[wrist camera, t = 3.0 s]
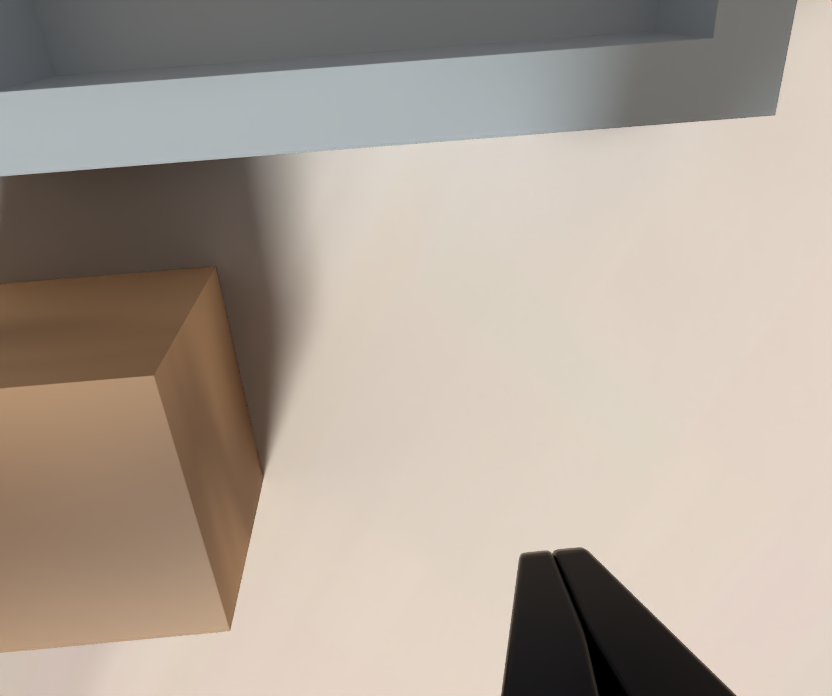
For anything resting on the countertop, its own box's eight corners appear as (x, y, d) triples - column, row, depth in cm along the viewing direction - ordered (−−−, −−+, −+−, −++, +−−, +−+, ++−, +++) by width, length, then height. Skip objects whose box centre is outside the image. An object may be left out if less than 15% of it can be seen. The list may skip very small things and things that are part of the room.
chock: (264, 475, 14) (230, 630, 11) (81, 491, 14) (-13, 654, 11) (217, 263, 12) (153, 375, 8) (-3, 281, 12) (-160, 401, 8)
